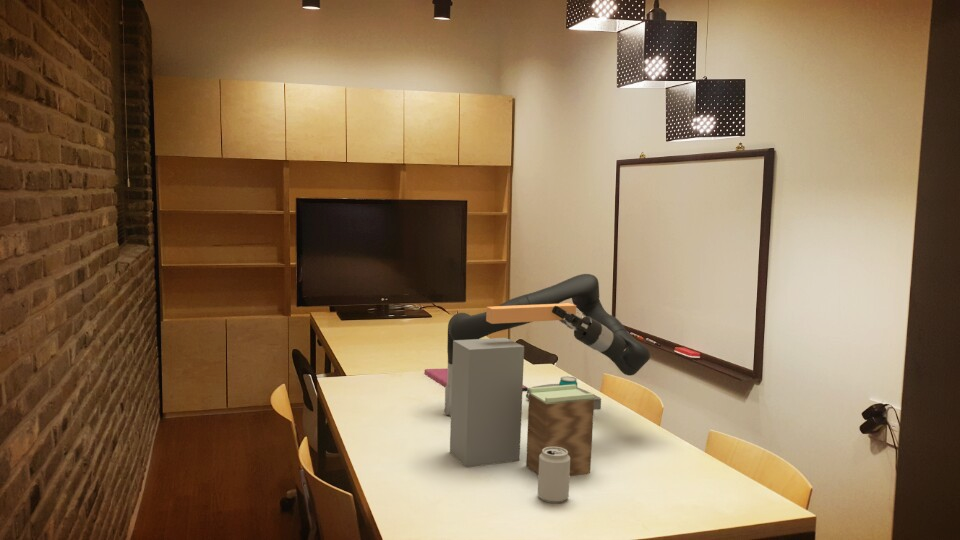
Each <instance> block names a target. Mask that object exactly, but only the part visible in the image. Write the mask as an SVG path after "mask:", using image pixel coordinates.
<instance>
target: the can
mask: <svg viewBox="0 0 960 540" xmlns="http://www.w3.org/2000/svg"><path fill="white" fill-rule="evenodd" d="M569 475H570V456H569V455H568V451H567V450H566V449H564V448H561V447H546V448H544V449H543V450H542V453H541V454H540V455H539V476H538V475H537V477H538V480H537V481H538V482H537V495H538V497H539V498H540V499H541V500H542V501H544V502H546V503H550V504H558V503H559V504H560V503H562V502H564V501H565V500H567V499H568V497H569V495H570V494H569V491H570V476H569Z"/></svg>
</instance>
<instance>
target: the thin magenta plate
mask: <svg viewBox="0 0 960 540" xmlns="http://www.w3.org/2000/svg"><path fill="white" fill-rule="evenodd" d="M447 373H448V368H425V369H424V375H426V376H427V377H428V378H431V379H432V380H433V381H434V382H436V383H438V384H439V385H441V386H442V387H444V388H445V387H446V385H447ZM528 388H529V387H527V386H526V385H524V384H523V390H522V392H527V389H528Z"/></svg>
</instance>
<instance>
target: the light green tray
mask: <svg viewBox="0 0 960 540" xmlns="http://www.w3.org/2000/svg"><path fill="white" fill-rule="evenodd" d="M550 386H559V383H548V384H542V385H536V386H532V387H527V388H528V389H527V391H526V394H525V397H526V399H527V398H528V400H529V388H538V387H550ZM577 389H578V390H580V391H582V392H584V393H586V394H588V393H591V392H590V391H588V390H585V389H583V388H581V387H578V386H577ZM600 408H602V398H601V397H600V396H598V395H596V394H594V409H596V410H601V409H600Z"/></svg>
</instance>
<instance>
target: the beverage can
mask: <svg viewBox="0 0 960 540" xmlns="http://www.w3.org/2000/svg"><path fill="white" fill-rule="evenodd" d="M577 380H578V379H577V377H574V376H561V377H560V380H559V383H558V384H559V386H562V385H573V384H575V385H577V386H578V381H577Z"/></svg>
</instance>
